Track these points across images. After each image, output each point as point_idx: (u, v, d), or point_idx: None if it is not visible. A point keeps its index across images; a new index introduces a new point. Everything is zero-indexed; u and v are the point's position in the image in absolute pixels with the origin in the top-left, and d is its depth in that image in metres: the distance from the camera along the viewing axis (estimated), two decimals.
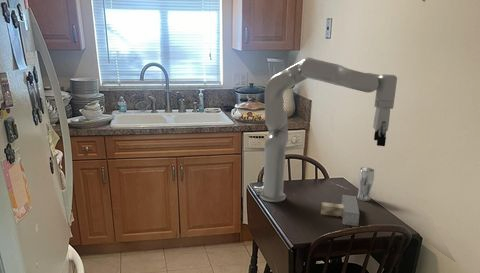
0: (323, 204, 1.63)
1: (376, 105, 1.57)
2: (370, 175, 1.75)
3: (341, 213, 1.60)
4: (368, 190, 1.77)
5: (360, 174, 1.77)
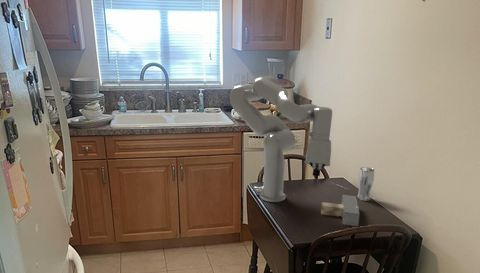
0: (323, 204, 1.63)
1: (324, 140, 1.54)
2: (370, 175, 1.75)
3: (341, 213, 1.60)
4: (368, 190, 1.77)
5: (360, 174, 1.77)
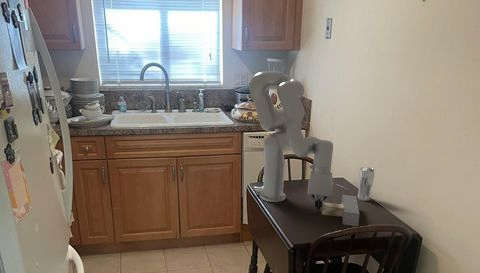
0: (324, 204, 1.63)
1: (325, 173, 1.56)
2: (370, 175, 1.75)
3: (342, 213, 1.60)
4: (368, 190, 1.77)
5: (360, 174, 1.77)
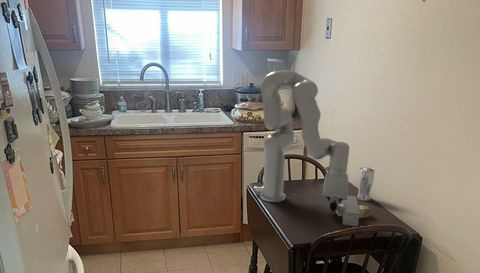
0: (340, 206, 1.61)
1: (341, 175, 1.55)
2: (370, 175, 1.75)
3: None
4: (368, 190, 1.77)
5: (360, 174, 1.77)
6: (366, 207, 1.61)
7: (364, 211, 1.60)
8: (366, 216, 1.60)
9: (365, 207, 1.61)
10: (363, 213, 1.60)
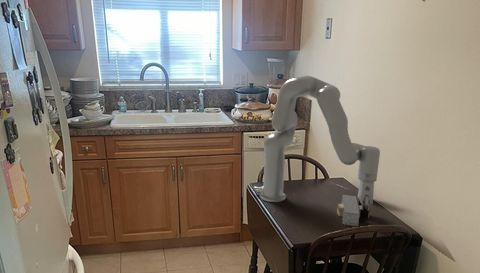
0: (340, 206, 1.62)
1: None
2: None
3: None
4: None
5: None
6: None
7: None
8: None
9: None
10: None
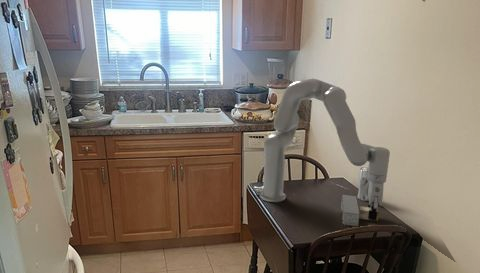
0: None
1: None
2: None
3: (367, 216, 1.58)
4: None
5: (360, 174, 1.77)
6: None
7: None
8: None
9: None
10: None
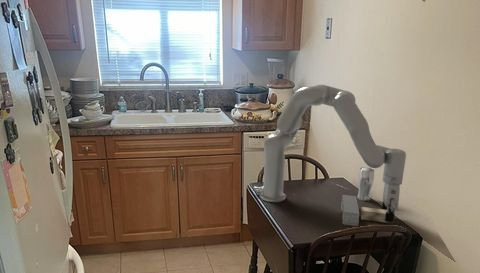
0: (363, 209, 1.59)
1: None
2: (370, 175, 1.75)
3: (382, 219, 1.57)
4: (368, 190, 1.77)
5: (360, 174, 1.77)
6: None
7: None
8: None
9: None
10: None
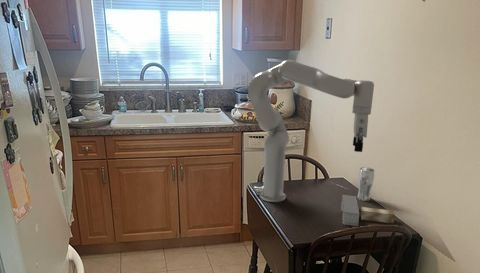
0: (363, 209, 1.59)
1: None
2: (370, 175, 1.75)
3: (382, 219, 1.57)
4: (368, 190, 1.77)
5: (360, 174, 1.77)
6: (391, 212, 1.57)
7: (388, 216, 1.56)
8: (391, 221, 1.56)
9: (390, 212, 1.57)
10: (387, 218, 1.56)
